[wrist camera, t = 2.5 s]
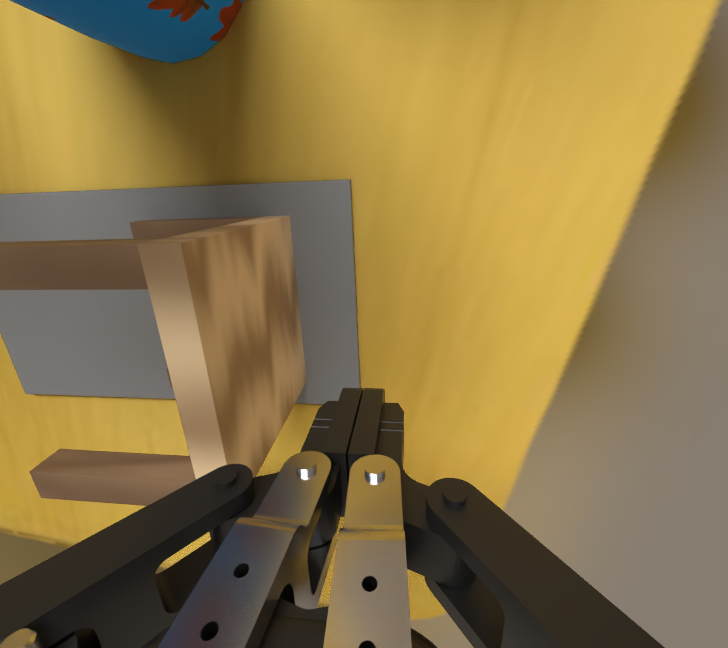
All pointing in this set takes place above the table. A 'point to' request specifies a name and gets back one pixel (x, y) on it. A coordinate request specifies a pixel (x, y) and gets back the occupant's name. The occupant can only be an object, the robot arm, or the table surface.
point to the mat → (134, 307)
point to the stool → (186, 343)
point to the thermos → (145, 23)
